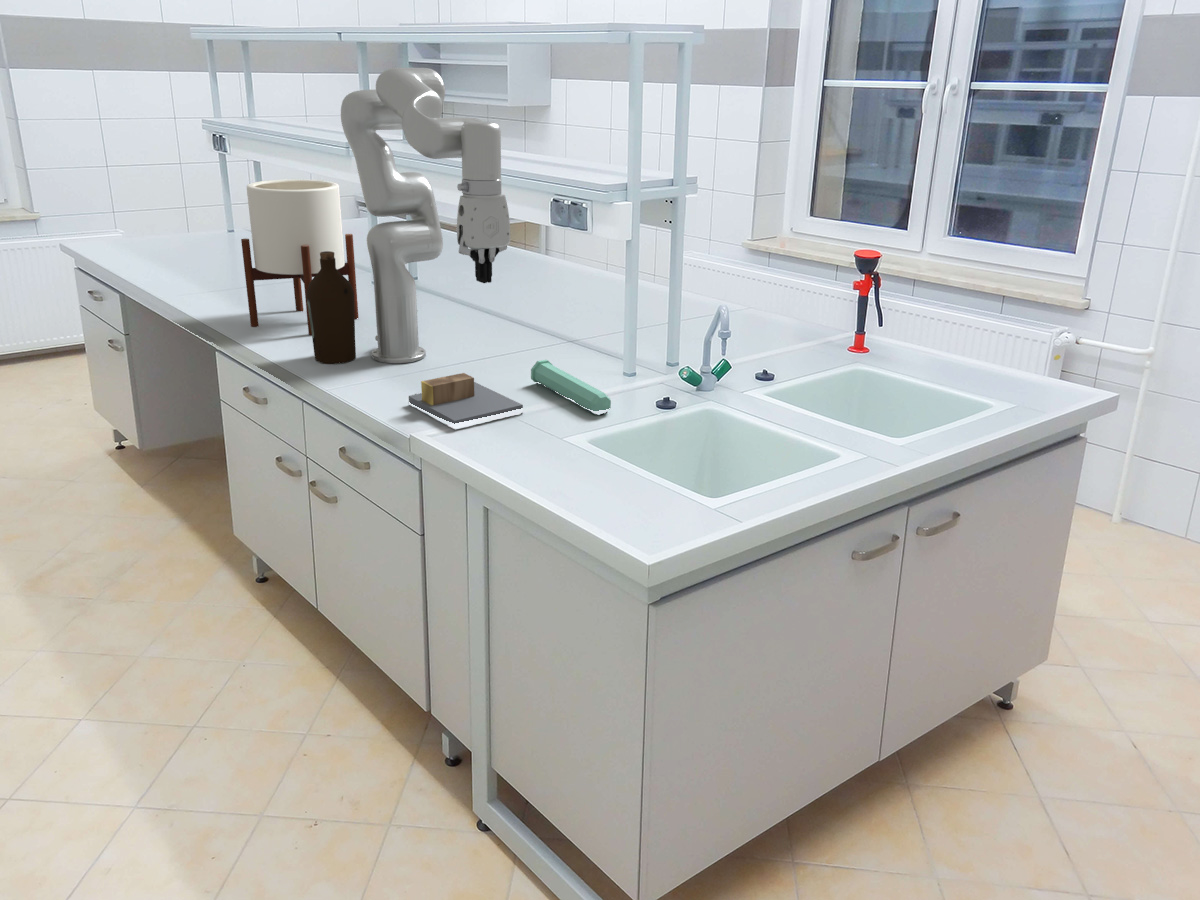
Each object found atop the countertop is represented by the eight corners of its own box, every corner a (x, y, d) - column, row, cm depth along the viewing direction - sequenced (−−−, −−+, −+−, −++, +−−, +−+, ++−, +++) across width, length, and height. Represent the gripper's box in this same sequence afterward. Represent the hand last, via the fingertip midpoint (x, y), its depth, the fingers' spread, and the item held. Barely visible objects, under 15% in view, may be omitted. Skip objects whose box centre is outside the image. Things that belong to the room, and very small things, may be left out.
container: (611, 387, 197) (548, 354, 216) (588, 402, 195) (526, 367, 214) (619, 410, 200) (556, 376, 219) (597, 425, 198) (535, 389, 217)
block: (464, 391, 205) (421, 400, 199) (463, 372, 203) (421, 381, 197) (474, 396, 202) (431, 405, 196) (474, 377, 200) (430, 386, 194)
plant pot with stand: (365, 317, 266) (356, 182, 253) (314, 337, 247) (301, 192, 233) (298, 308, 274) (285, 177, 260) (243, 327, 254) (226, 186, 241)
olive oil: (363, 352, 235) (356, 248, 226) (352, 365, 226) (344, 257, 216) (319, 351, 235) (310, 247, 226) (306, 364, 226) (296, 256, 216)
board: (409, 405, 202) (408, 395, 201) (474, 390, 211) (474, 382, 210) (454, 430, 189) (454, 420, 188) (522, 414, 198) (522, 404, 198)
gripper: (459, 193, 183) (462, 289, 190) (524, 188, 192) (525, 280, 199) (438, 188, 188) (442, 282, 195) (503, 183, 197) (504, 274, 204)
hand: (483, 281), depth 197 cm, fingers closed
